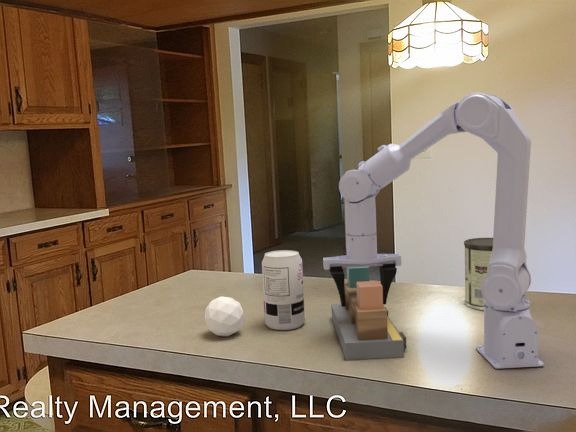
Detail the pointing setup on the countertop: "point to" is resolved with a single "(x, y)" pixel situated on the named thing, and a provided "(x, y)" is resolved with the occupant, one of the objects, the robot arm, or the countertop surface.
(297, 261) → the supplement can
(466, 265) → the coffee can
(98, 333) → the countertop surface
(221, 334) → the ball
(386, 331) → the brown long bar
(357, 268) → the teal crate
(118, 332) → the countertop surface
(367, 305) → the terracotta brick
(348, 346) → the dock
